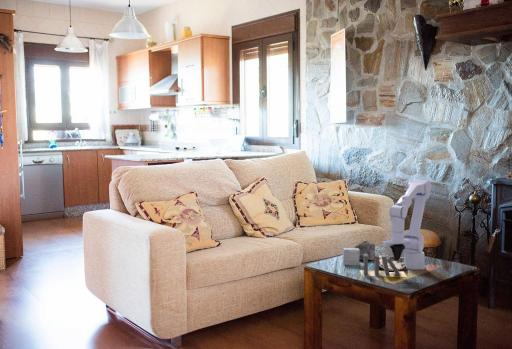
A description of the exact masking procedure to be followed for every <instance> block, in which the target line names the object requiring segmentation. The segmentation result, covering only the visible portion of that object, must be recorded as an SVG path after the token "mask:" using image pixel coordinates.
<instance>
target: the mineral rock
mask: <svg viewBox="0 0 512 349" xmlns="http://www.w3.org/2000/svg"><path fill="white" fill-rule="evenodd" d="M353 248H358V249H359V251H360V252H359V261H360V260H361V261H363V258H364V254H367V255H368V261H370V260H371V261H374V254H376V245H375V242H372V241H370V242H369V241H368V240H363V241H362V242H360V243H358V244H357V245H355V246H354V247H353Z"/></svg>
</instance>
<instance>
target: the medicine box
mask: <svg viewBox="0 0 512 349" xmlns="http://www.w3.org/2000/svg"><path fill="white" fill-rule="evenodd" d="M359 252H360V251H359V249H358V248H354V247H343V248H342V265H343V266H360V259H359Z"/></svg>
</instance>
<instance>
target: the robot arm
mask: <svg viewBox="0 0 512 349" xmlns="http://www.w3.org/2000/svg"><path fill="white" fill-rule="evenodd" d="M431 192H432V183H431V181H430V180H424V179H423V180H422V179H420V180H419V179H413V178H411V179H409V181H408V183H407V190H406V192H405V194H404V195H401V196H400V198H399V199H398V200H397V201H396V203H395V204H394V205H392V206H390V207H389V214H388V215H389V216H390V222H391V229H390V230H391V232H390V233H391V234H390V239H388V240H385V241H384V240H383V241H382V247H385V246H390V248H391V250H392V252H393V255H394V258H393V259H394V261H396V262H398V261H400V260H401V259H400V257H401V254H402V252H403V251H404V259H403V264H404V263H405V265H406V268H405V269H407V270H425V260H426V258H425V252H424V251H423V250H424V247H425V236H424V235H422V233H420V231H421V226H422V221H423V215H424V211H425V208H426V203H427V202H426V201H427V200H428V199H430V196H431ZM413 199H414V204H413ZM412 204H413V208H412V209H413V211H412V215H411V220H410V225H409V229H408V230H407V231H406V232H405V219H406V217H407V215H408V211H409V208H410V207H411V205H412Z"/></svg>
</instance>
